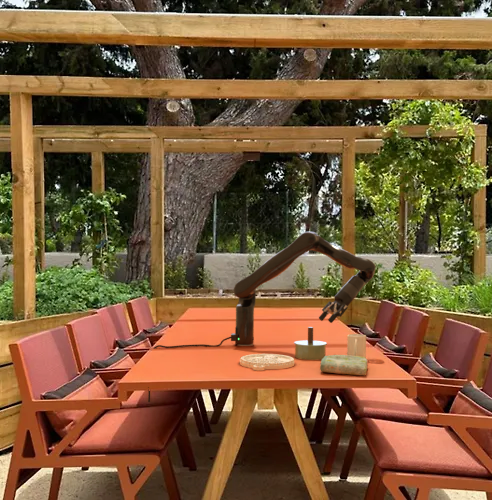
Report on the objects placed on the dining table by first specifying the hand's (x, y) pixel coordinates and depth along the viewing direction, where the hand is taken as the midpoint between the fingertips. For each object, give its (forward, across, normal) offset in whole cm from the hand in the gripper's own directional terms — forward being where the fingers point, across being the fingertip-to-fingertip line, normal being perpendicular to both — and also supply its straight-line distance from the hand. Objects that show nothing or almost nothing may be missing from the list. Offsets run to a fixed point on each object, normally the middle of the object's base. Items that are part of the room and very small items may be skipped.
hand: (324, 320), depth 276 cm
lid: (+12, 0, +2) cm, 13 cm away
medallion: (+35, +7, -11) cm, 38 cm away
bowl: (+17, 0, +7) cm, 18 cm away
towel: (+18, +30, +6) cm, 35 cm away
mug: (+8, +18, +16) cm, 25 cm away
